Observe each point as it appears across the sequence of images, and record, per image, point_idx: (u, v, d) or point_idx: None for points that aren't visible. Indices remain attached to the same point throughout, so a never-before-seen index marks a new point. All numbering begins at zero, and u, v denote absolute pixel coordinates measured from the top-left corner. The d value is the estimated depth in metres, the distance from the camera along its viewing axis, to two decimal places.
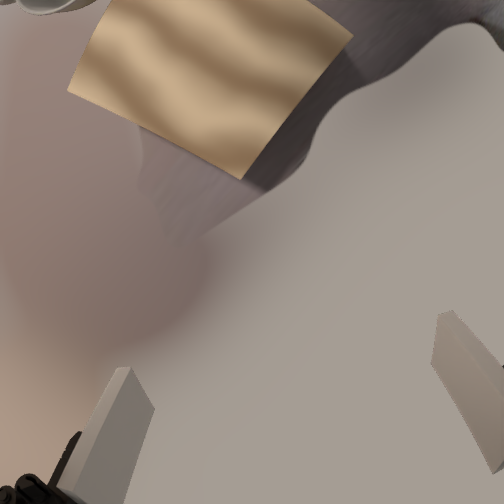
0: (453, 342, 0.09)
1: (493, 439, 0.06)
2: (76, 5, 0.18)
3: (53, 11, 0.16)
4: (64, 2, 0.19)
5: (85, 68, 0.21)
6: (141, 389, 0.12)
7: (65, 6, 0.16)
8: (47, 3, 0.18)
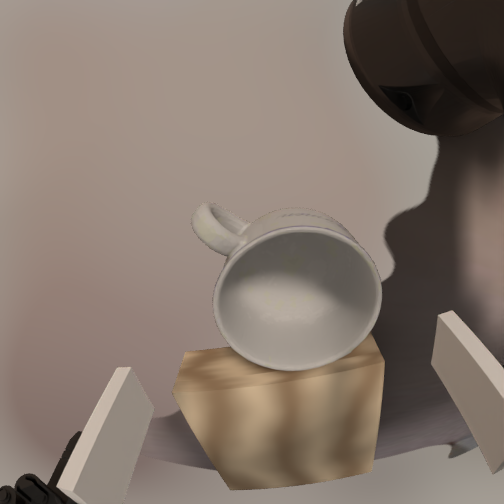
0: (453, 342, 0.09)
1: (493, 439, 0.06)
2: None
3: (238, 351, 0.20)
4: (242, 277, 0.25)
5: (205, 398, 0.24)
6: (141, 389, 0.12)
7: (252, 361, 0.21)
8: (230, 272, 0.23)
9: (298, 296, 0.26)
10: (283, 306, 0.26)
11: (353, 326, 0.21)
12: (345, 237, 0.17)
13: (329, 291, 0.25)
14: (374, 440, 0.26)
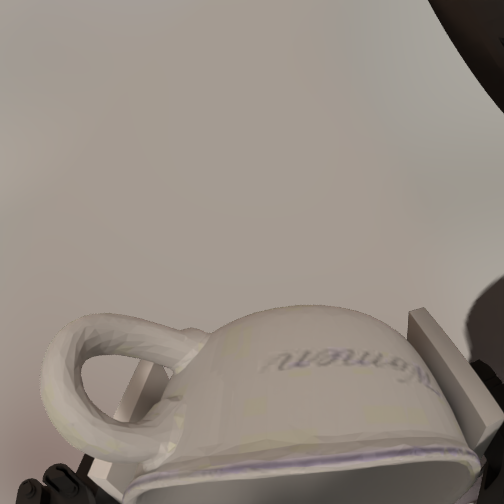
0: (422, 338, 0.10)
1: None
2: None
3: None
4: None
5: None
6: (166, 377, 0.13)
7: None
8: None
9: None
10: None
11: (395, 503, 0.08)
12: (450, 454, 0.04)
13: None
14: None
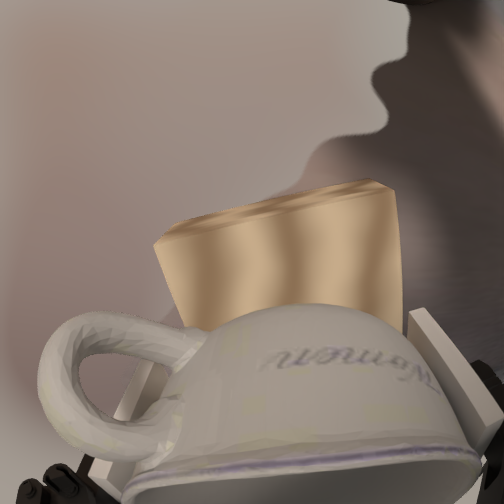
0: (422, 338, 0.10)
1: None
2: None
3: None
4: None
5: (191, 249, 0.22)
6: (166, 377, 0.13)
7: None
8: None
9: None
10: None
11: (395, 503, 0.08)
12: (451, 453, 0.04)
13: None
14: (399, 327, 0.24)
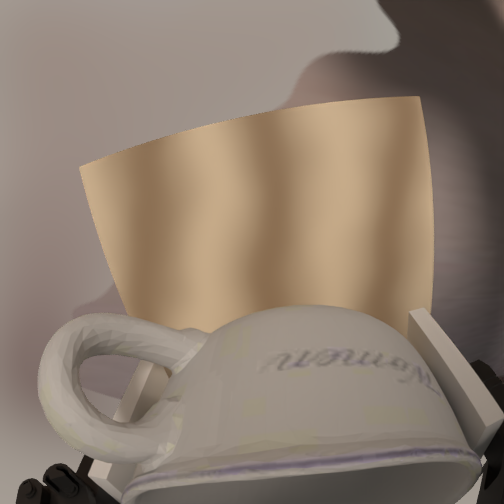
0: (422, 338, 0.10)
1: None
2: None
3: None
4: None
5: (126, 169, 0.14)
6: (166, 377, 0.13)
7: None
8: None
9: None
10: None
11: (395, 503, 0.08)
12: (451, 455, 0.04)
13: None
14: (427, 305, 0.16)
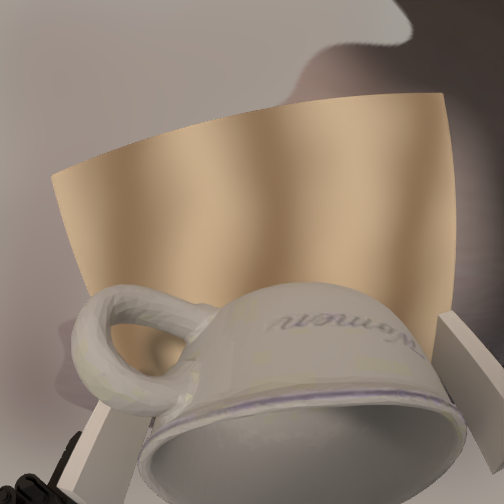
0: (453, 342, 0.09)
1: (493, 439, 0.06)
2: None
3: None
4: None
5: (101, 178, 0.12)
6: None
7: None
8: None
9: None
10: (277, 419, 0.15)
11: (390, 475, 0.10)
12: (433, 402, 0.06)
13: None
14: None
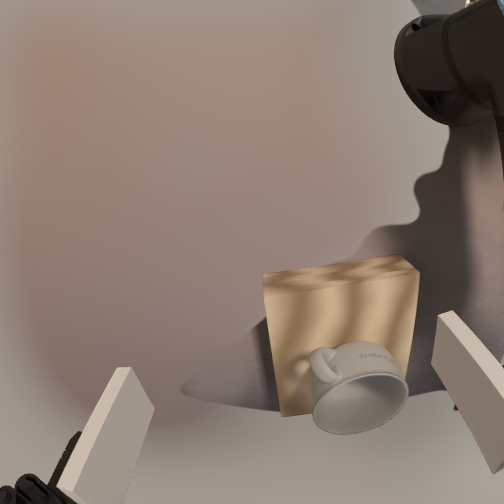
0: (453, 342, 0.09)
1: (493, 439, 0.06)
2: None
3: (320, 427, 0.30)
4: None
5: (290, 301, 0.33)
6: (141, 389, 0.12)
7: (326, 431, 0.30)
8: None
9: (349, 384, 0.36)
10: (339, 390, 0.36)
11: (385, 409, 0.31)
12: (397, 376, 0.27)
13: (369, 381, 0.35)
14: (407, 354, 0.35)
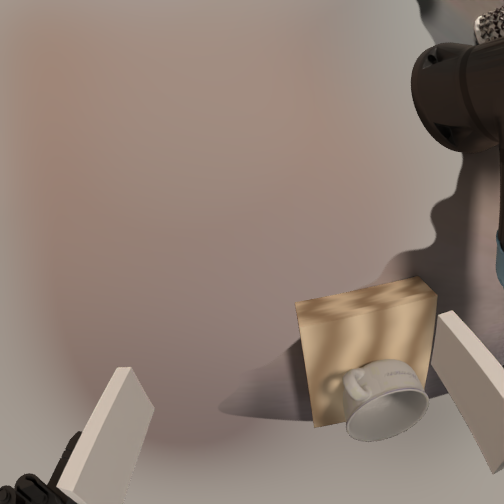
0: (453, 342, 0.09)
1: (493, 439, 0.06)
2: None
3: (352, 437, 0.32)
4: None
5: (323, 329, 0.35)
6: (141, 389, 0.12)
7: None
8: None
9: None
10: None
11: (408, 416, 0.33)
12: (419, 390, 0.29)
13: (393, 392, 0.37)
14: (427, 365, 0.37)
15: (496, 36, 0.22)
